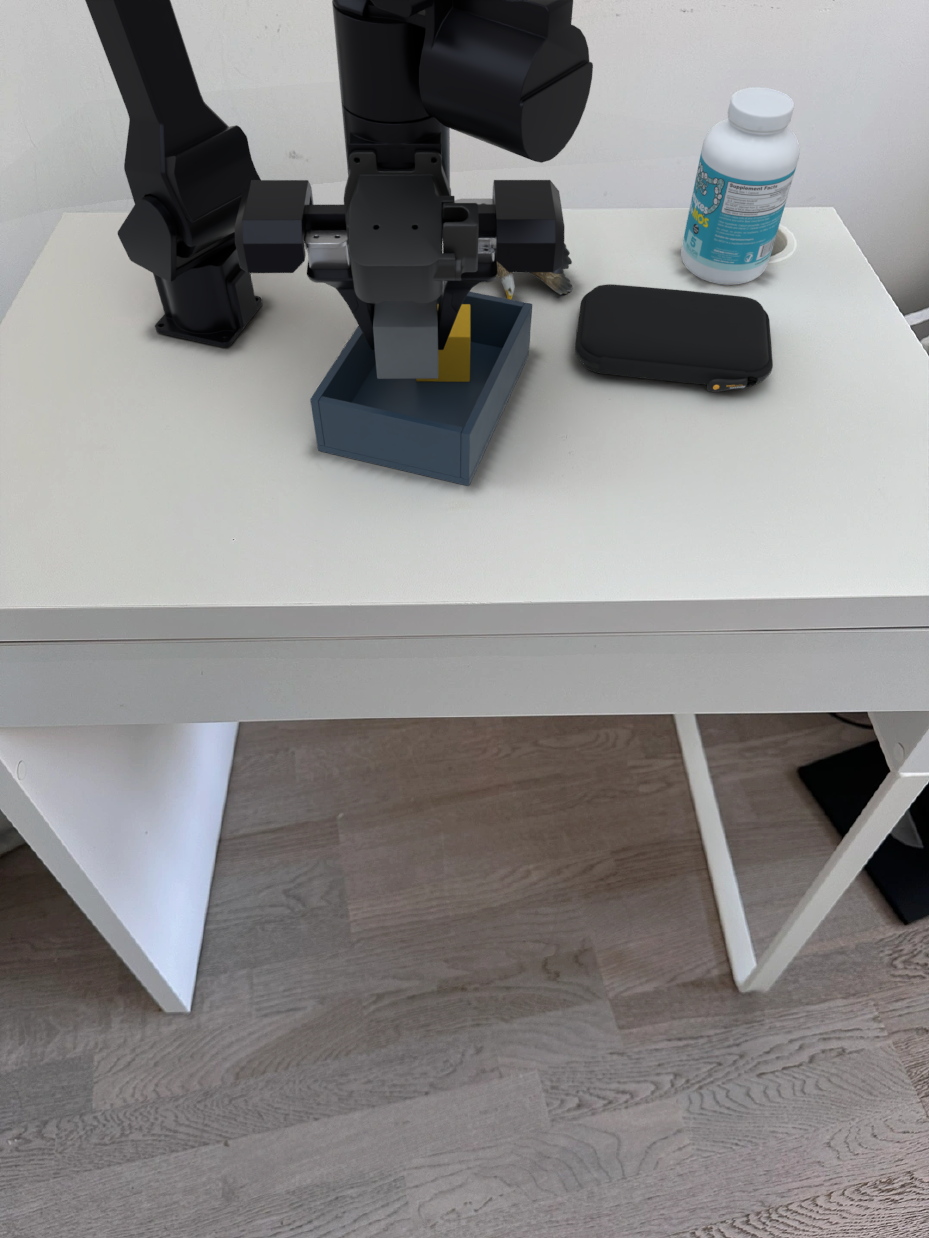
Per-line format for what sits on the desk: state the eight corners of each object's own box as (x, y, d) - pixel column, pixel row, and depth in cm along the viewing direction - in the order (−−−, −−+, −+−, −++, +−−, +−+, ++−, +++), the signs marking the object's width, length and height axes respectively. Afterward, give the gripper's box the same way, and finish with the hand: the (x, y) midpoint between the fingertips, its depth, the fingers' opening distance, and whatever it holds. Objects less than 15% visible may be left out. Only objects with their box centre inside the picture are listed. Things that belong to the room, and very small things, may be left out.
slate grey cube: (377, 379, 61) (372, 327, 58) (379, 341, 64) (375, 289, 61) (438, 379, 61) (437, 326, 58) (438, 341, 64) (437, 289, 61)
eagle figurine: (460, 308, 75) (574, 294, 73) (449, 211, 72) (566, 194, 71) (473, 306, 82) (577, 293, 80) (463, 218, 80) (569, 202, 78)
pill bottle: (678, 237, 83) (711, 75, 73) (763, 244, 83) (809, 81, 72) (678, 285, 79) (713, 120, 68) (768, 293, 78) (817, 127, 68)
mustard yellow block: (416, 382, 70) (414, 336, 67) (417, 349, 72) (416, 303, 69) (469, 382, 70) (470, 337, 67) (469, 349, 72) (470, 303, 69)
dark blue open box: (317, 451, 66) (309, 399, 63) (393, 327, 75) (390, 276, 71) (469, 486, 64) (469, 435, 61) (528, 355, 73) (532, 303, 69)
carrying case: (569, 389, 70) (768, 410, 69) (573, 355, 68) (780, 376, 67) (580, 306, 77) (762, 324, 76) (584, 273, 74) (773, 290, 73)
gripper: (193, 176, 44) (250, 429, 57) (586, 176, 45) (558, 427, 57) (225, 72, 51) (270, 319, 64) (567, 73, 52) (545, 318, 64)
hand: (407, 346), depth 62 cm, fingers closed on slate grey cube, 4 cm apart
